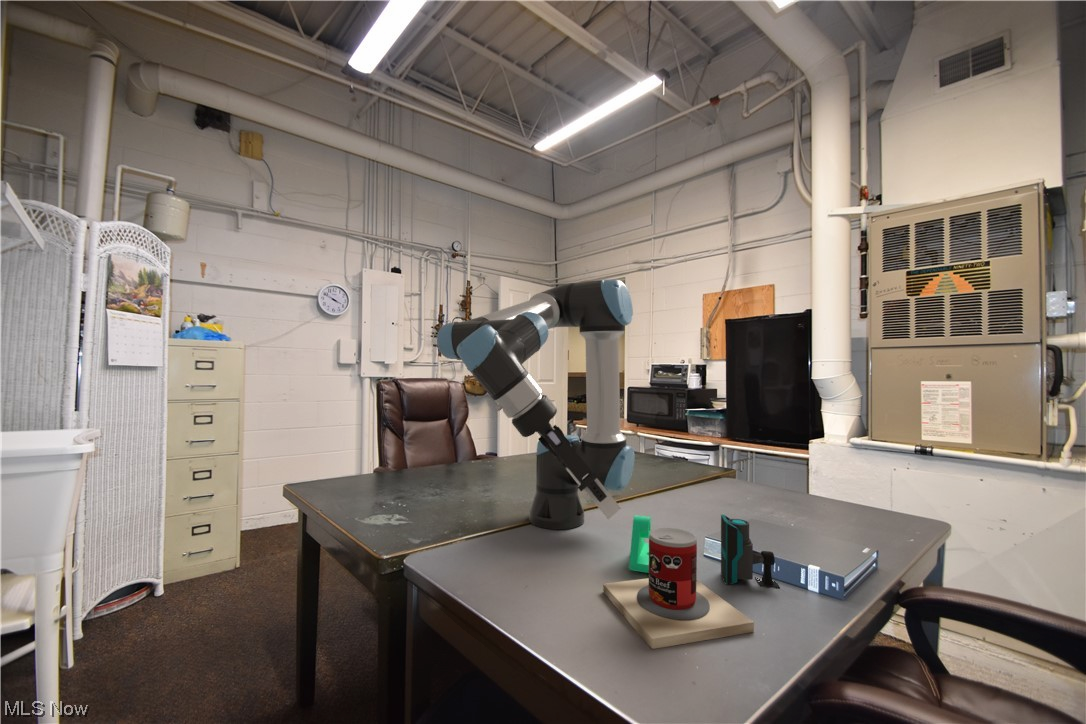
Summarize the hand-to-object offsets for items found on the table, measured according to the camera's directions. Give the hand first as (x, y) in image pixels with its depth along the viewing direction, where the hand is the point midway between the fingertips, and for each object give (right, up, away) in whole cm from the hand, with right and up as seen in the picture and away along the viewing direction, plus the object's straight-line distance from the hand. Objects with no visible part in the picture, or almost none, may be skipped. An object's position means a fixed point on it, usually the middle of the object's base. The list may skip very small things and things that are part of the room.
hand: (602, 501), depth 79 cm
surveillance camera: (+30, -19, +11) cm, 38 cm away
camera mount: (+13, -19, +17) cm, 29 cm away
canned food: (+12, -17, -1) cm, 21 cm away
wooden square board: (+12, -19, -1) cm, 22 cm away
